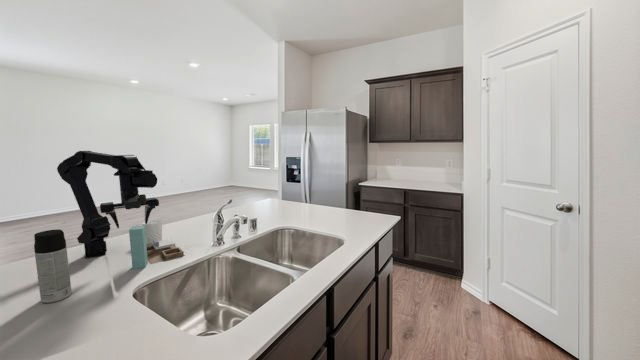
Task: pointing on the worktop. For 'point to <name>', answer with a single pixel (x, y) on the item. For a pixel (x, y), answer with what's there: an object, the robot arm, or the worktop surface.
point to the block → (138, 247)
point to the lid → (162, 243)
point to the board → (163, 254)
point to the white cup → (153, 230)
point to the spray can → (52, 265)
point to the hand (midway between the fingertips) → (132, 225)
